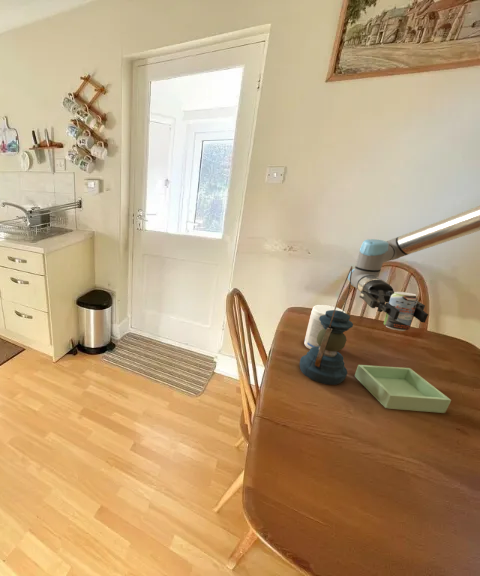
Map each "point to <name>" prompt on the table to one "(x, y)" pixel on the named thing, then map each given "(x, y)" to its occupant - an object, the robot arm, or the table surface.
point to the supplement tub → (316, 324)
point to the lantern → (328, 347)
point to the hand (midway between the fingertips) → (410, 316)
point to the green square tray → (401, 389)
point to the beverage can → (401, 310)
